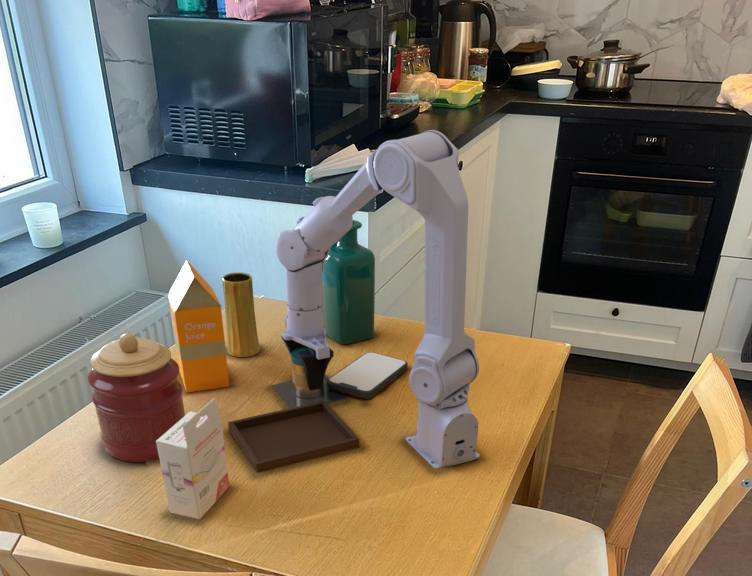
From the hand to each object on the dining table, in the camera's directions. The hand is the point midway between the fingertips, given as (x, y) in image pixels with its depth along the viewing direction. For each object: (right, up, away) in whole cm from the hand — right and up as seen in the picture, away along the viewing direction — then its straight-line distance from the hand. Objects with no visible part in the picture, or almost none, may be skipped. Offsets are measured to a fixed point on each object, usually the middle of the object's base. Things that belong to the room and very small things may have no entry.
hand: (308, 381), depth 131 cm
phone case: (+10, +1, +6) cm, 12 cm away
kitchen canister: (-24, -11, -11) cm, 29 cm away
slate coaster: (0, -2, +1) cm, 2 cm away
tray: (-1, -11, -11) cm, 15 cm away
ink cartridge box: (-13, -20, -24) cm, 34 cm away
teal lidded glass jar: (0, -2, +1) cm, 2 cm away
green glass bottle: (+6, +13, +22) cm, 26 cm away
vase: (-13, +8, +16) cm, 22 cm away
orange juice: (-19, +1, +6) cm, 20 cm away
